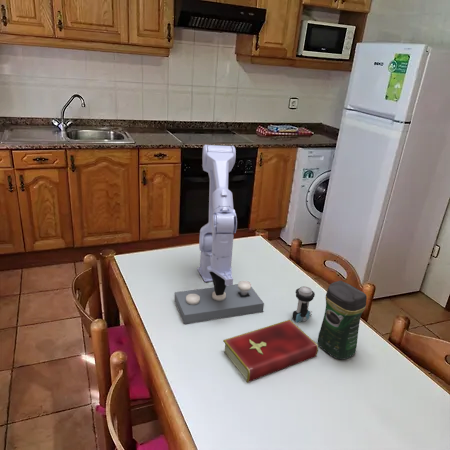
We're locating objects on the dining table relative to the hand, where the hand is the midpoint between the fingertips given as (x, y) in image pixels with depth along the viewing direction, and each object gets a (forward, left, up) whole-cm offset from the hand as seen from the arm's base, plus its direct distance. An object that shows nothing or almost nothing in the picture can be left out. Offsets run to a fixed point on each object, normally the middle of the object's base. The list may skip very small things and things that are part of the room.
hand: (219, 294), depth 120 cm
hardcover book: (+23, +6, -5) cm, 25 cm away
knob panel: (0, 0, -4) cm, 4 cm away
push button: (+12, +22, -4) cm, 25 cm away
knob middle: (0, 0, -3) cm, 3 cm away
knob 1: (0, -8, -3) cm, 9 cm away
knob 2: (0, +8, -1) cm, 8 cm away
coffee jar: (+26, +24, -4) cm, 36 cm away
